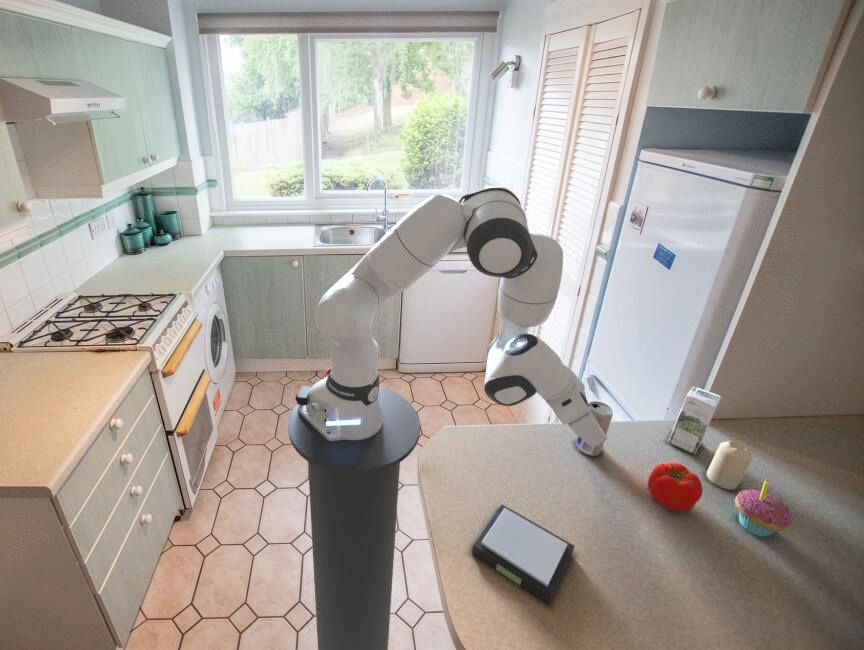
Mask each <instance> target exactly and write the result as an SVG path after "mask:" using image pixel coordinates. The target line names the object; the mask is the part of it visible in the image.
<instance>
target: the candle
mask: <svg viewBox="0 0 864 650" xmlns="http://www.w3.org/2000/svg"><path fill="white" fill-rule="evenodd" d="M753 457H754V455H753V453H752V452H751V451H750V449H749V448H748V447H747V446H746V445H745V444H744V443H743V442H741V441H739V440H734V439H733V440H725V441H722V442H720V443H719V445H718V447H717V449H716V452H715V454H714V456H713V458H712V460H711V463H710V464H709V467H708V468H707V471H706V477H707V479H708V480H709V481H710V482H711V483H712V484H714V485H715V486H717V487H719V488H722V489H724V490H728V491H729V490H730V491H731V490H736V489H737V488H738V487H739V485H740V483H741V481H742V479H743V477H744V475H745V473H746V472H747V469H748V467H749V465H750V463H751V462H752V459H753Z"/></svg>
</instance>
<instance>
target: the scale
mask: <svg viewBox="0 0 864 650" xmlns="http://www.w3.org/2000/svg"><path fill="white" fill-rule="evenodd" d="M574 549H575V544H573V543H570V542H569V541H567V540H565V539H564V538H562V537H560V536H559V535H556V534H555V533H553V532H552V531H549V530H547V528H545V527H543V526H541V525H539V524H538V523H536V522H534V521H532V520H530V519H529V518H527V517H525V516H524V515H522V514H520V513H519V512H517V511H514V510H513V509H511V508H510V507H508V506H507V505H504V504H502V503H501V505H499V507H498V509H496V511H495V513H494V514H493V516H492V517H491V519H490V520H489V521H488V523H487V525H486V526H485V527H484V529H483V530H482V531H481V533H480V535H479V536H478V537H477V539H476V540H475V542H474V543H473V545H472V550H471V554H472V555H473V556H475V557H476V558H477V559H479V560H481V561H482V562H484V563H485V564H486V565H488V566H490V567H491V568H493V569H494V570H496V571H498V572H499V573H500V574H502V575H503V576H505V577H506V578H508V579H509V580H510V581H512V582H514V583H515V584H517V585H518V586H520V587H521V588H522V589H524V590H526V591H527V592H529V593H530V594H532V595H533V596H535V598H538V599H539V600H541V601H542V602H544V603H545V604H547V605H550V603H551V600H552V598H553V596H554V594H555V591H556V590H557V588H558V586H559V584H560V581H561V579H562V577H563V575H564V572H565V570H566V568H567V566H568V564H569V562H570V560H571V558H572V556H573V552H574Z"/></svg>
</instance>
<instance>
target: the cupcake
mask: <svg viewBox="0 0 864 650" xmlns="http://www.w3.org/2000/svg"><path fill="white" fill-rule="evenodd" d="M769 485H770V482H769V481H768V478H766V479H765V481H764V482H763V486H762V488H761V490H756V489H750V488H749V489H743V490H740V491H739V492H738V493H737V495H736V496H735V498H734V505H735V508H736V510H738V522H739V524H740V525H742V526H741V527H743V528H744V529H745V530H746V531H747V532H750V533H751V534H753V535H755V536H758V537H768V536H770V535H772V534H774V533H776V532H781V533H784V532H786V531H789V530H791V529H792V527H793V523H794V519H795V517H794V516H793V513H792V511H791V510H790V508H789V506H787V505H786V504H785V503H784V502H783V501H782V500H781V499H780V498H777V497H776V496H775V495H773V494H770V493H767V491H768V488H769Z"/></svg>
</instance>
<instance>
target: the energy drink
mask: <svg viewBox="0 0 864 650" xmlns="http://www.w3.org/2000/svg"><path fill="white" fill-rule="evenodd" d="M588 404H589V407H590V409H591V411H592V412H593V414H594V415H595V417H596V419H597V421H598V423H599V425H600V427H601V428H602V430H603V432H604V433H605V435H606V436H607V435H608V431H609V429H610V425H611V422H612V418H613V415H614V413H613V408H612V407H611V406H610V405H608V404H607V403H605V402H601V401H595V400H594V401H590V402H588ZM604 443H605V441H604V442H602V443H601V444H599V445H597V446H590V445H588V444H587V443H586V442H585V441H584V440H582V439H581V438H580V437H579V436H578V435H577V439H576V443H575V446H576V448H577V449H578V450H579V452H581V453H583V454H584V455H587V456H590V457H591V456H592V457H595V456H598V455H600V454H601V453H602V450H603V446H604Z"/></svg>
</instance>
